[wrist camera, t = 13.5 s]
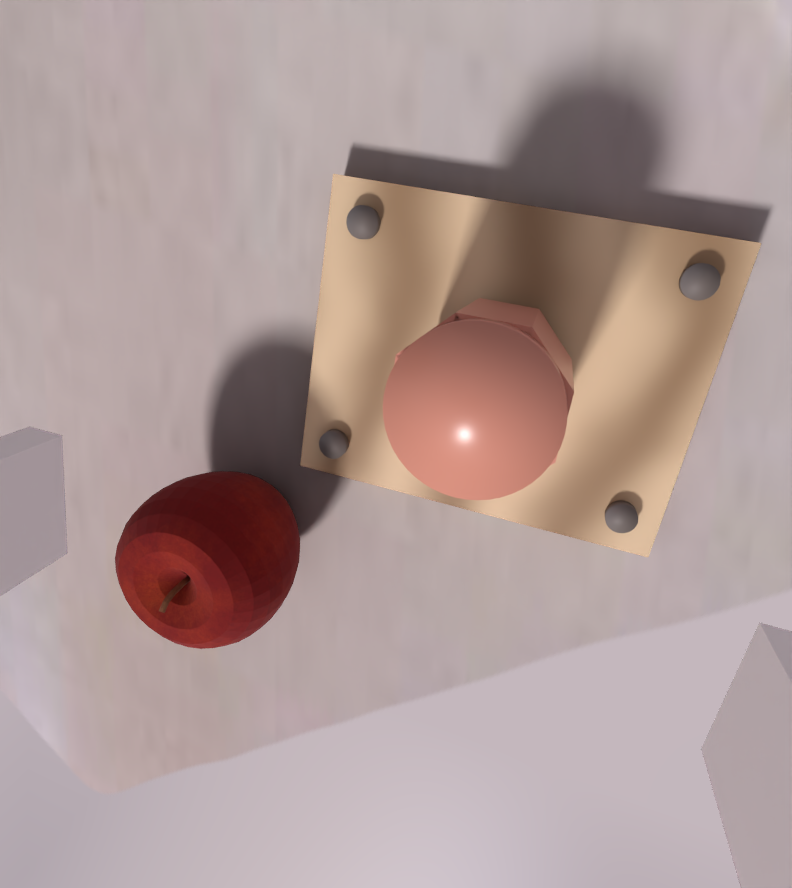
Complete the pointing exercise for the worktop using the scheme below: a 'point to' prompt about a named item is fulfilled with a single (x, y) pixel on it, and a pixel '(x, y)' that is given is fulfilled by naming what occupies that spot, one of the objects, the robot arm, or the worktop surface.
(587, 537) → the stud plate
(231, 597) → the apple
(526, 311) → the cap
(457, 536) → the worktop surface
